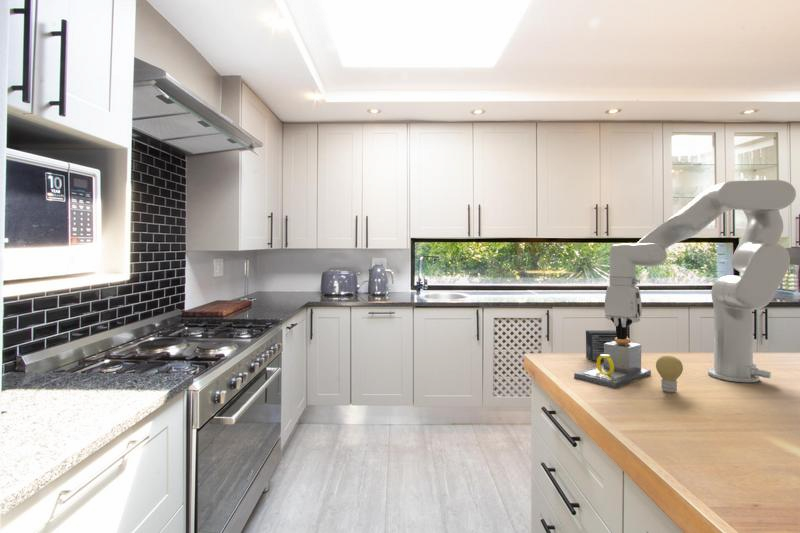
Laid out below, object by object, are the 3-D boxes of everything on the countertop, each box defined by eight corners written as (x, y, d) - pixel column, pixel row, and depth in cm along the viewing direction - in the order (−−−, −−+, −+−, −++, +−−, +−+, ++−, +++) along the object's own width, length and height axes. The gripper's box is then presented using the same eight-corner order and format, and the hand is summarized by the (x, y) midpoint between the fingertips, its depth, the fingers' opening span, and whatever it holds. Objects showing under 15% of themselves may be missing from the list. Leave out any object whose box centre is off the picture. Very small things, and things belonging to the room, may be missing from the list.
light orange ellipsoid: (632, 362, 137) (632, 338, 136) (625, 364, 134) (626, 340, 134) (619, 359, 140) (619, 336, 140) (612, 361, 138) (612, 338, 138)
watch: (594, 372, 133) (593, 353, 133) (601, 371, 134) (600, 352, 134) (609, 376, 127) (608, 356, 128) (616, 375, 128) (615, 355, 128)
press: (650, 374, 135) (651, 345, 135) (615, 388, 122) (615, 355, 122) (610, 366, 146) (610, 338, 145) (574, 377, 133) (574, 347, 132)
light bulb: (674, 396, 115) (674, 359, 114) (650, 389, 120) (651, 355, 120) (687, 392, 117) (687, 357, 117) (664, 386, 123) (664, 352, 123)
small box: (614, 357, 158) (614, 329, 157) (622, 362, 151) (622, 333, 151) (585, 357, 159) (585, 329, 158) (591, 361, 152) (591, 332, 152)
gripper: (652, 282, 133) (651, 341, 133) (605, 280, 145) (605, 333, 145) (641, 284, 128) (640, 344, 129) (594, 281, 140) (593, 336, 141)
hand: (621, 338), depth 137 cm, fingers closed
